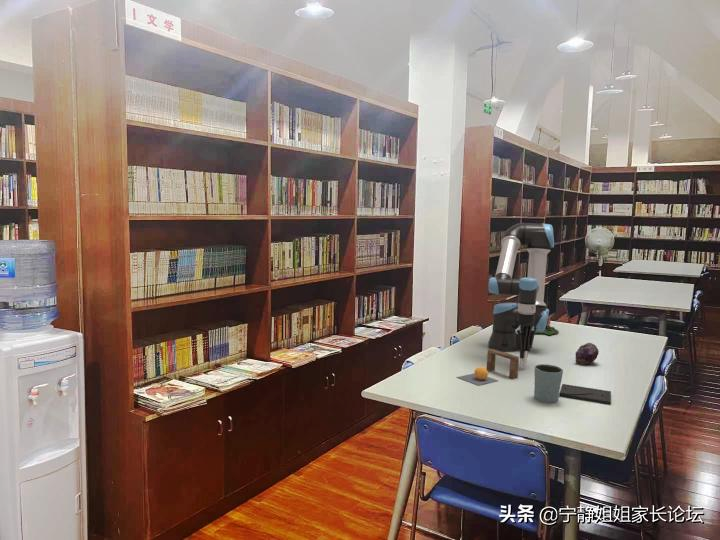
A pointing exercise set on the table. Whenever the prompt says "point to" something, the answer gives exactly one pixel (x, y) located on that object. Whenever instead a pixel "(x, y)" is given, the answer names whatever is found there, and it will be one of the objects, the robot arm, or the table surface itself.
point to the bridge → (513, 359)
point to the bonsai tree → (548, 320)
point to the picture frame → (585, 394)
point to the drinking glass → (547, 383)
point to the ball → (481, 373)
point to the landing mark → (474, 380)
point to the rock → (586, 354)
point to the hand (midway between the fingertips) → (523, 364)
